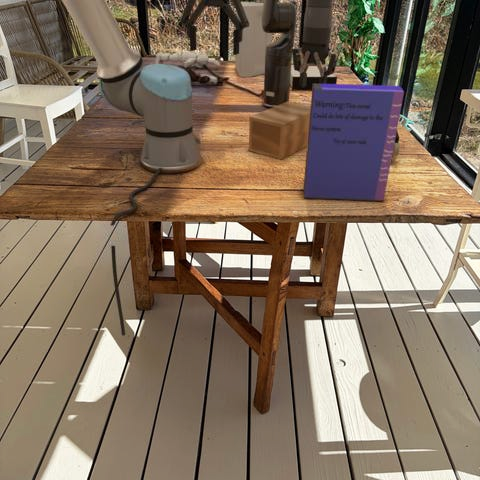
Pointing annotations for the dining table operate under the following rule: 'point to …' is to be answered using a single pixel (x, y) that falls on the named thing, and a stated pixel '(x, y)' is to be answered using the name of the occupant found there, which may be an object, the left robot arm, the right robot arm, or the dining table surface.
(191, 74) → the figurine
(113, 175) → the dining table surface
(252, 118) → the brown rectangular block
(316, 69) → the disc drive
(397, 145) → the figurine character
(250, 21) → the tall white box
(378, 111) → the purple hardcover book
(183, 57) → the toy
